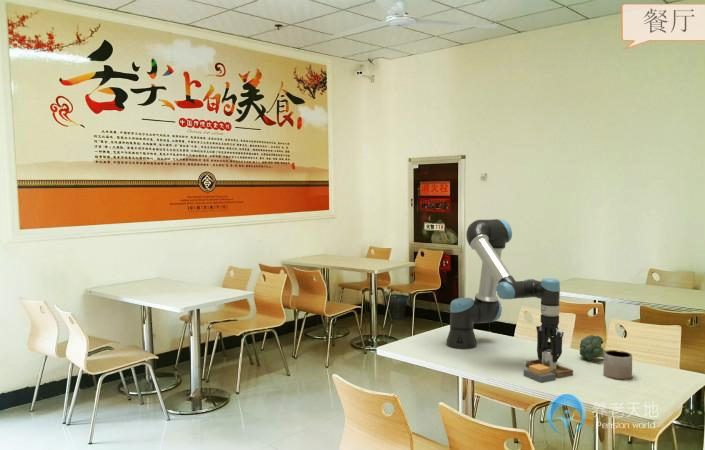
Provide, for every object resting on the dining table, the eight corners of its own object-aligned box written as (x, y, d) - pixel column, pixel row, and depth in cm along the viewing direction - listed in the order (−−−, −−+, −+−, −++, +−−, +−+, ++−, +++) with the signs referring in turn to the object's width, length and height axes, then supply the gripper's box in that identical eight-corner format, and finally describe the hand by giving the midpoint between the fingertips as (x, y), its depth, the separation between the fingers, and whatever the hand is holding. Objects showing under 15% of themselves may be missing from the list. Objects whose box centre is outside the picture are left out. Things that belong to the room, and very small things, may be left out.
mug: (553, 369, 241) (554, 348, 240) (532, 362, 251) (533, 341, 251) (565, 368, 245) (567, 346, 244) (544, 360, 255) (546, 340, 255)
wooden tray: (525, 366, 244) (526, 361, 244) (541, 363, 248) (541, 358, 248) (557, 378, 228) (557, 373, 228) (572, 375, 232) (573, 370, 232)
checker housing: (523, 375, 232) (523, 369, 232) (537, 372, 235) (537, 367, 235) (541, 382, 223) (541, 376, 223) (555, 379, 227) (555, 373, 226)
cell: (541, 368, 239) (541, 349, 239) (548, 367, 241) (549, 347, 241) (549, 371, 235) (549, 351, 235) (556, 370, 237) (557, 350, 237)
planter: (597, 373, 234) (598, 351, 234) (616, 370, 239) (616, 348, 238) (618, 381, 224) (619, 358, 224) (637, 378, 229) (638, 355, 228)
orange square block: (528, 373, 231) (528, 365, 230) (539, 371, 233) (539, 363, 233) (539, 377, 225) (539, 369, 225) (550, 375, 228) (550, 367, 228)
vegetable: (619, 361, 245) (588, 346, 245) (601, 374, 254) (571, 359, 254) (618, 340, 254) (589, 325, 254) (601, 353, 263) (572, 339, 263)
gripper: (528, 311, 243) (528, 363, 244) (559, 319, 228) (557, 374, 229) (541, 310, 246) (540, 361, 248) (572, 317, 231) (570, 372, 232)
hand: (548, 367), depth 238 cm, fingers closed on cell, 4 cm apart
